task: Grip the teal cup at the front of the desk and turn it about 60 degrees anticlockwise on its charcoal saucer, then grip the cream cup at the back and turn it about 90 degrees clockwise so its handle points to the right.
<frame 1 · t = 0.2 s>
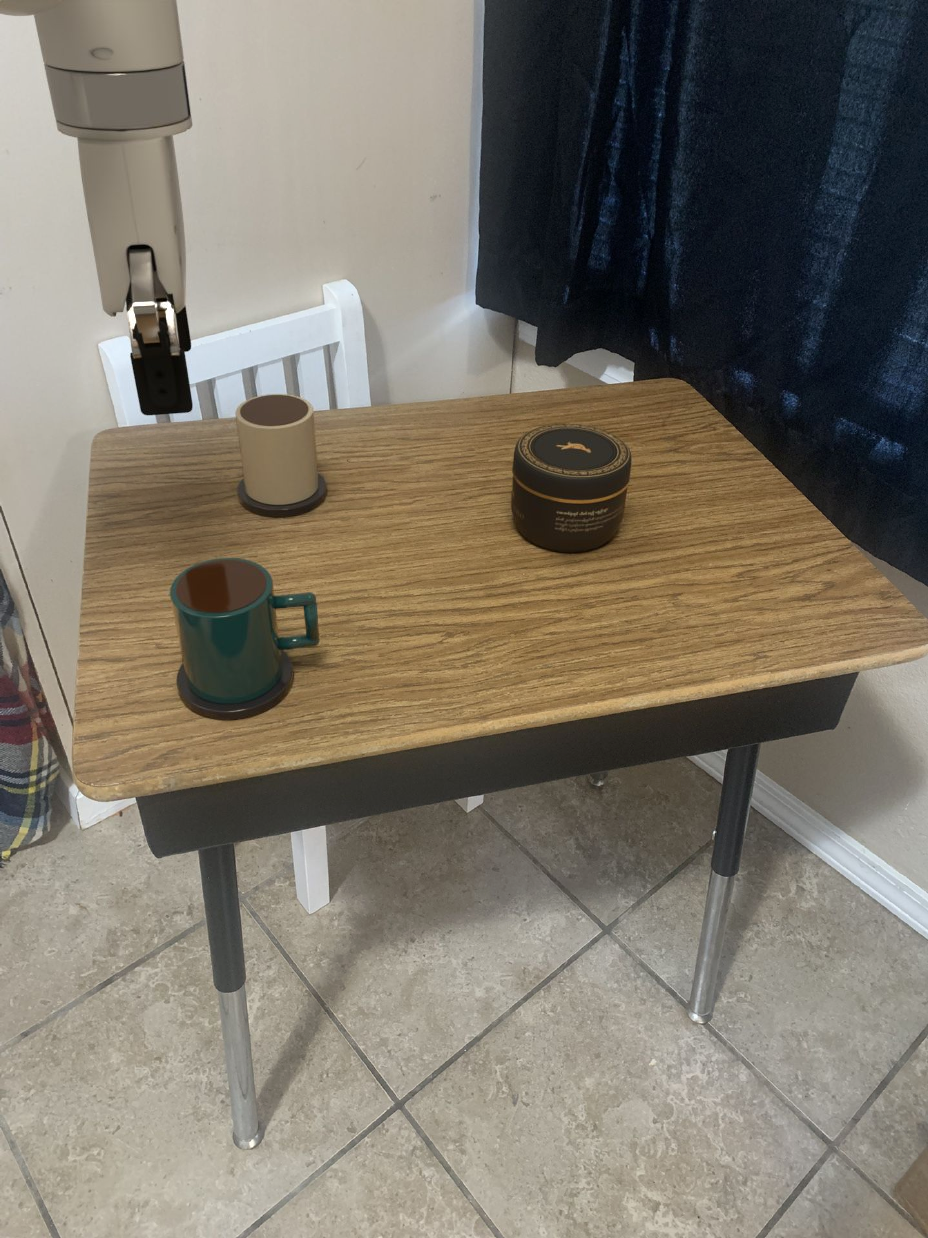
hand: (168, 379, 66), 18 cm above the table, tool pointing down, fingers open, 9 cm apart
cup front: (249, 627, 67), point 5 cm above the table, hinge at 0.0°
dark grey round coaster: (282, 493, 89), on the table
jar: (564, 527, 86), on the table
saucer front: (236, 680, 69), on the table
cup back: (277, 441, 87), point 5 cm above the table, hinge at 0.0°
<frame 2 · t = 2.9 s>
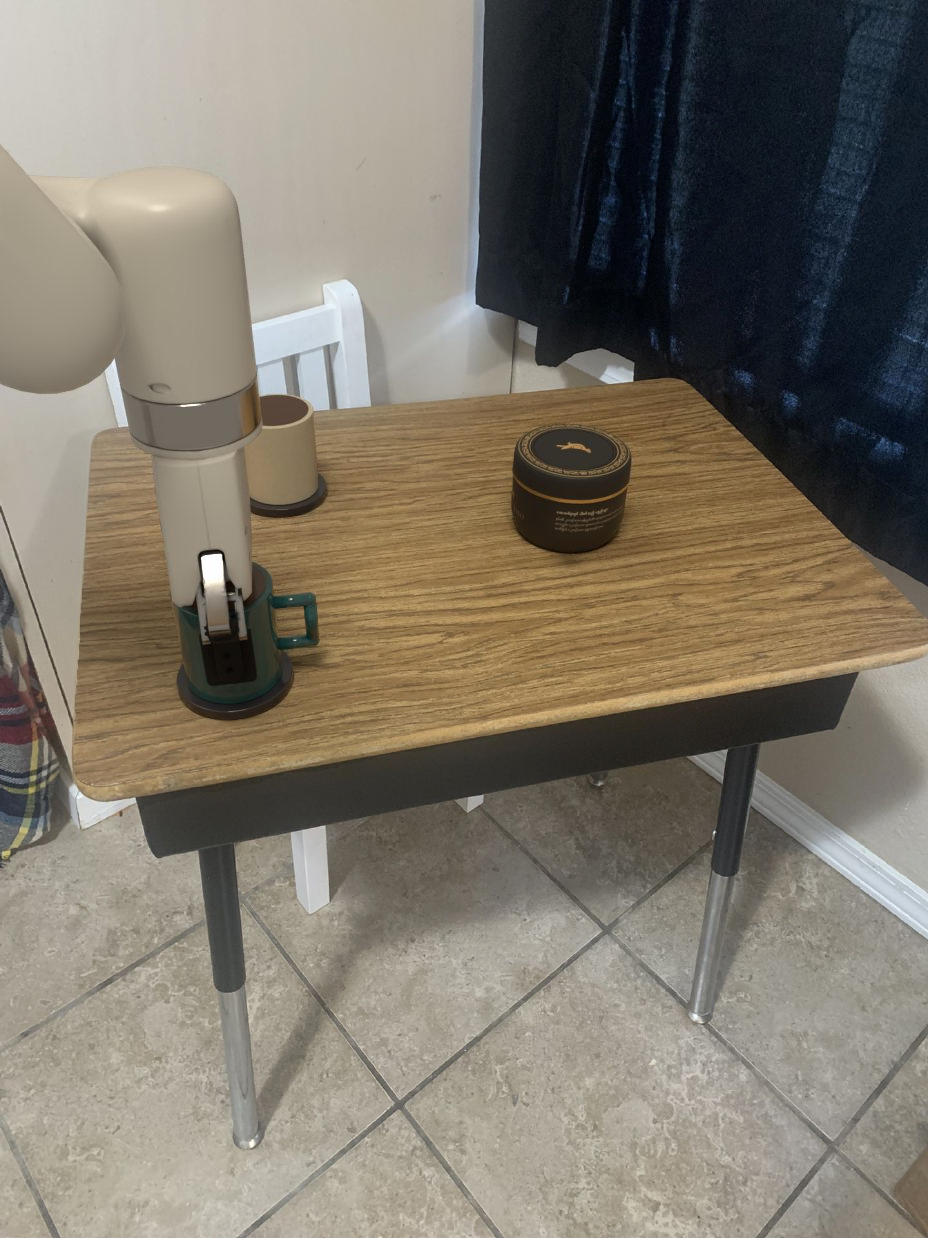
hand: (230, 643, 67), 3 cm above the table, tool pointing down, fingers closed on cup front, 6 cm apart
cup front: (249, 627, 67), point 5 cm above the table, hinge at 0.0°, touching gripper
everything else where it was.
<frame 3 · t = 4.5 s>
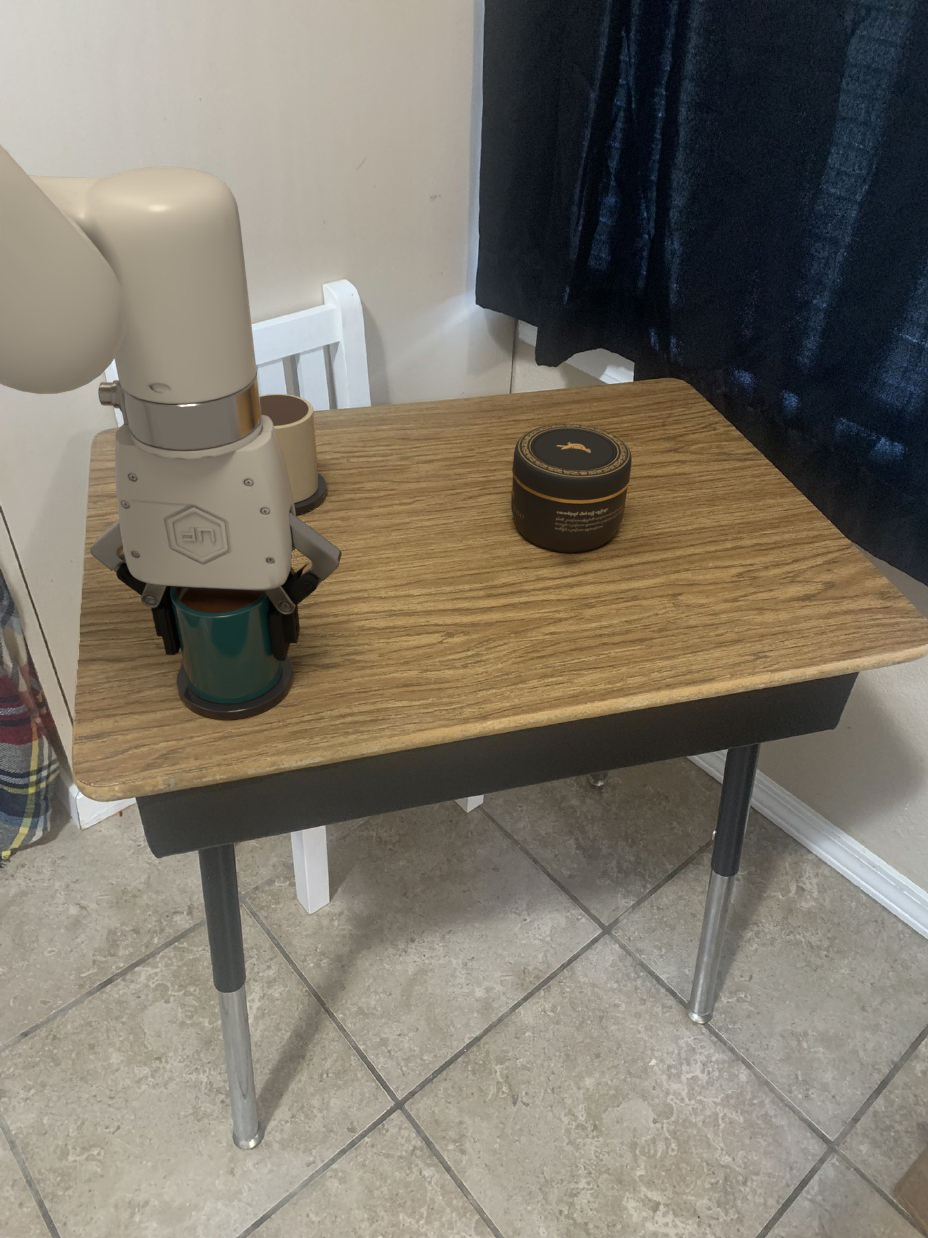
hand: (230, 643, 67), 3 cm above the table, tool pointing down, fingers closed on cup front, 6 cm apart
cup front: (233, 617, 67), point 5 cm above the table, hinge at 74.5°, touching gripper
everything else where it was.
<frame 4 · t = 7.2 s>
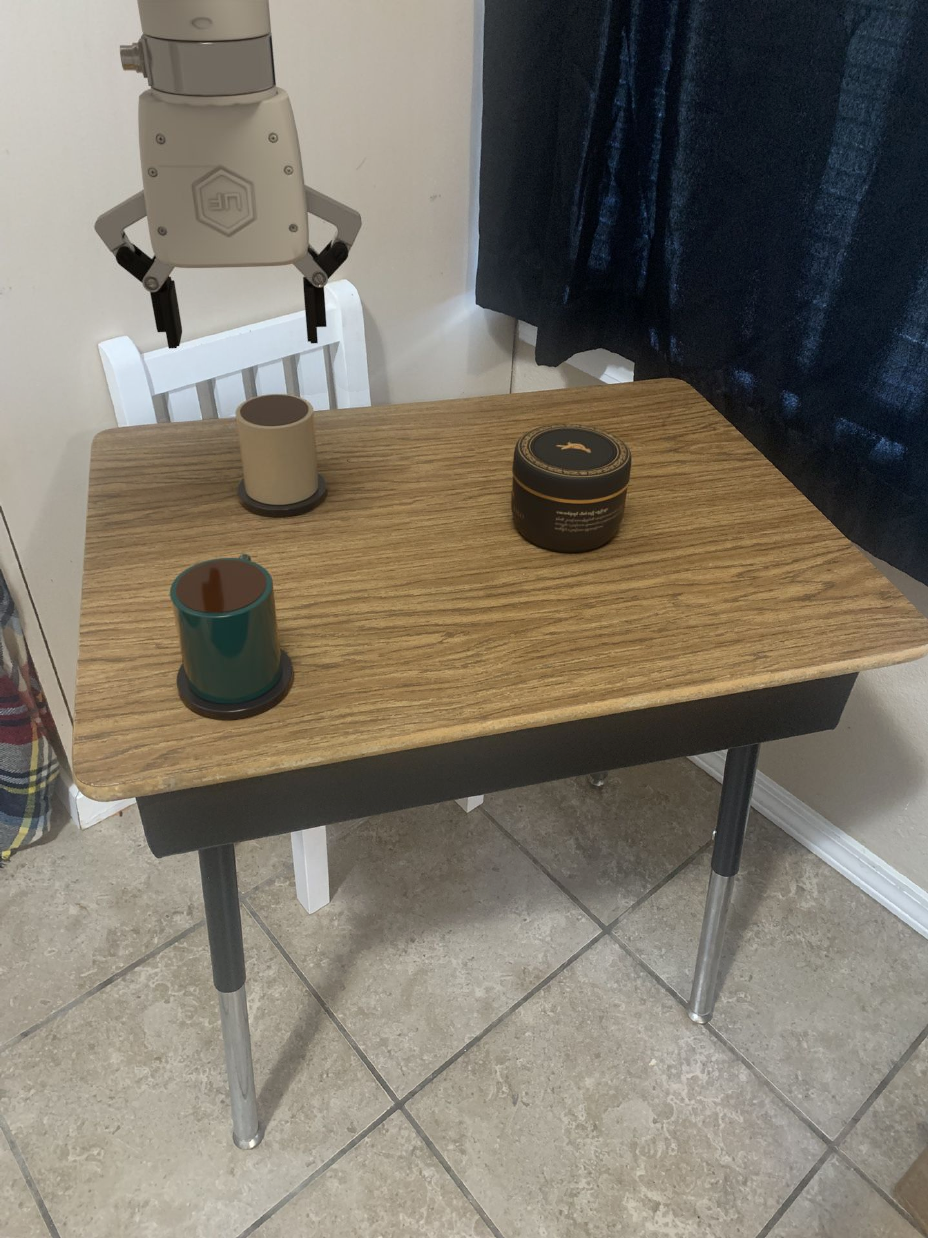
hand: (244, 338, 70), 19 cm above the table, tool pointing down, fingers open, 9 cm apart
cup front: (233, 617, 67), point 5 cm above the table, hinge at 74.5°
everything else where it was.
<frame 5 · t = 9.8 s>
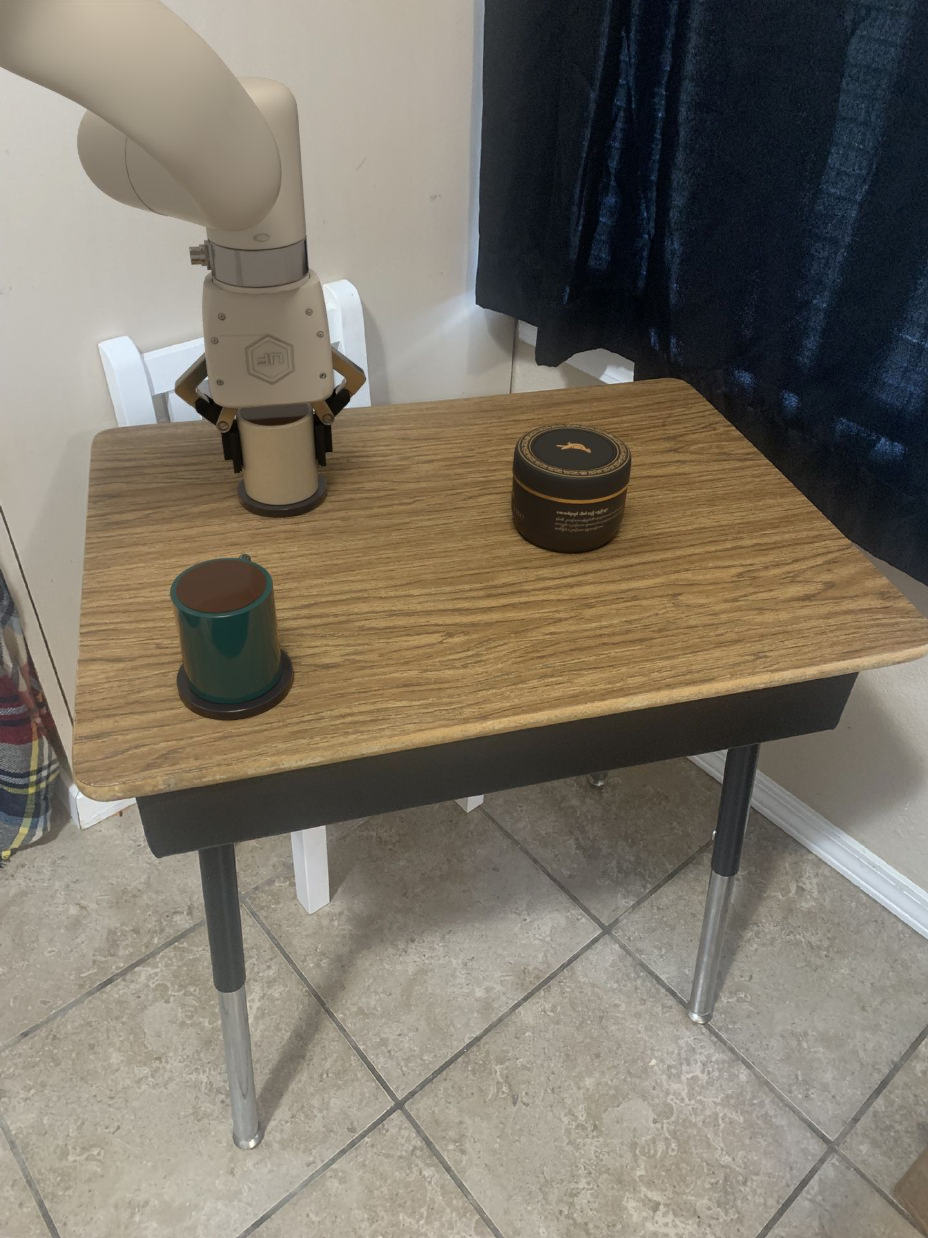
hand: (279, 460, 87), 3 cm above the table, tool pointing down, fingers closed on cup back, 6 cm apart
cup back: (277, 441, 87), point 5 cm above the table, hinge at -0.1°, touching gripper
everything else where it was.
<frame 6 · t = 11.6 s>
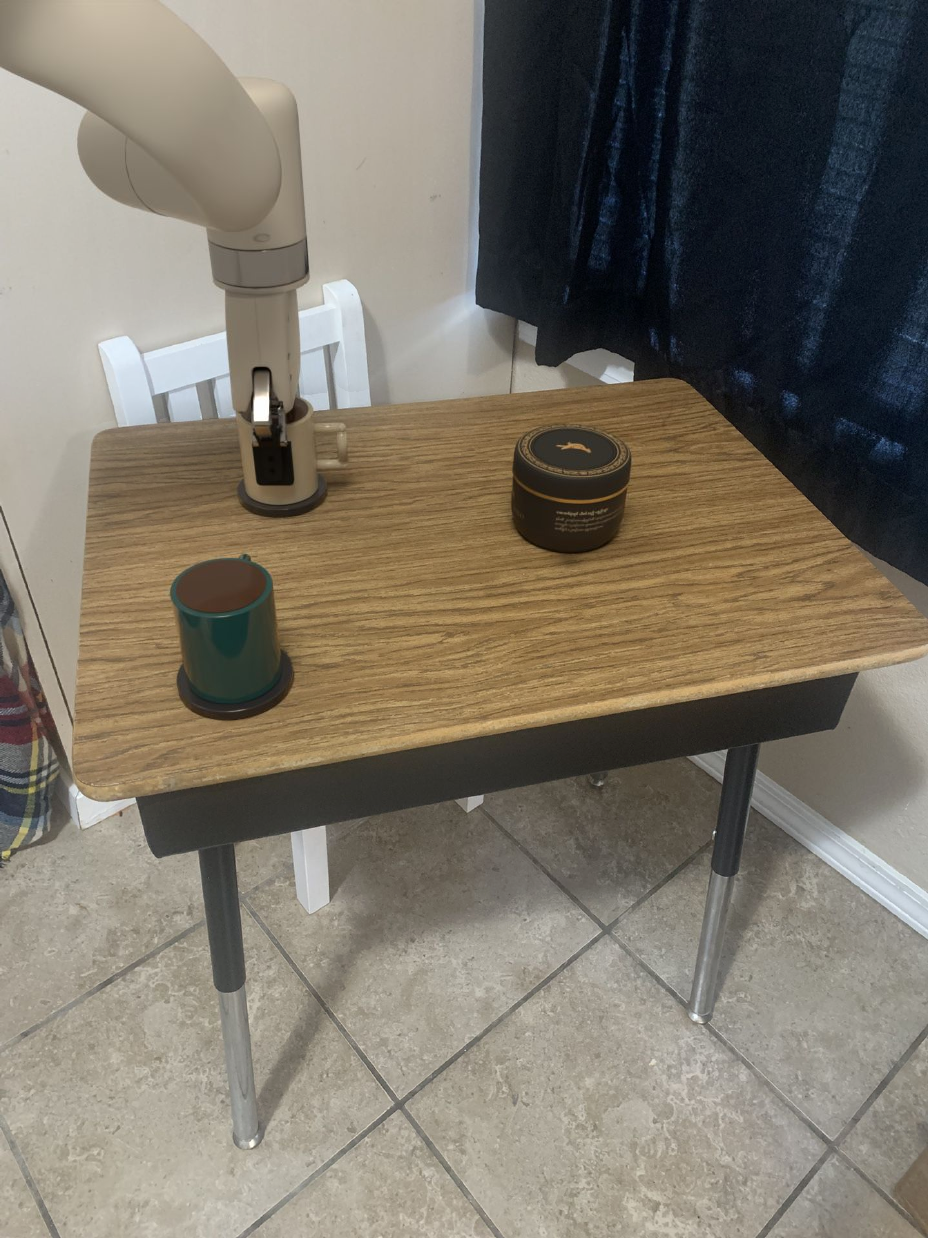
hand: (280, 460, 87), 3 cm above the table, tool pointing down, fingers closed on cup back, 6 cm apart
cup back: (294, 448, 86), point 5 cm above the table, hinge at -96.5°, touching gripper
everything else where it was.
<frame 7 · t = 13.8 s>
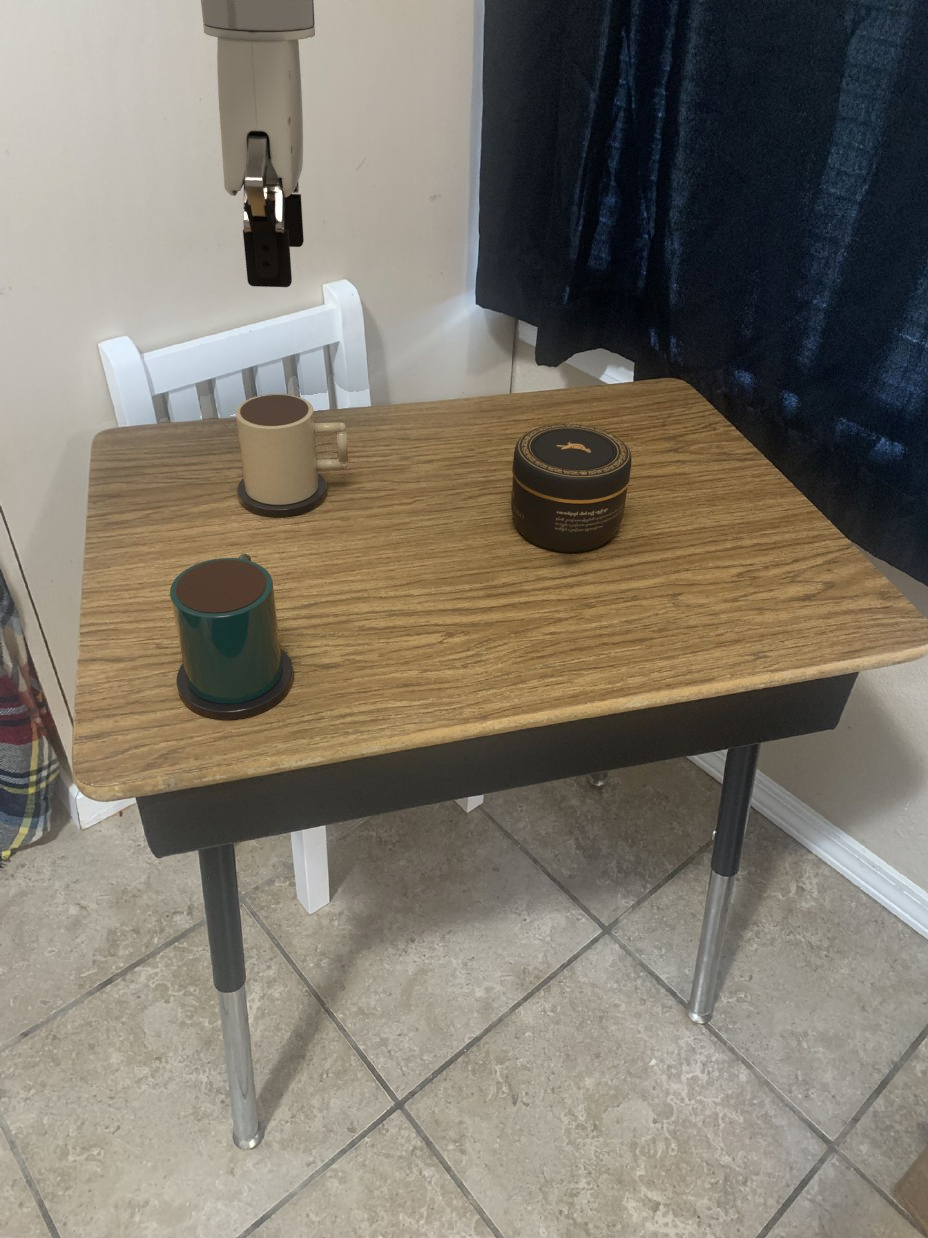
hand: (277, 264, 77), 21 cm above the table, tool pointing down, fingers open, 9 cm apart
cup back: (294, 448, 86), point 5 cm above the table, hinge at -96.0°
everything else where it was.
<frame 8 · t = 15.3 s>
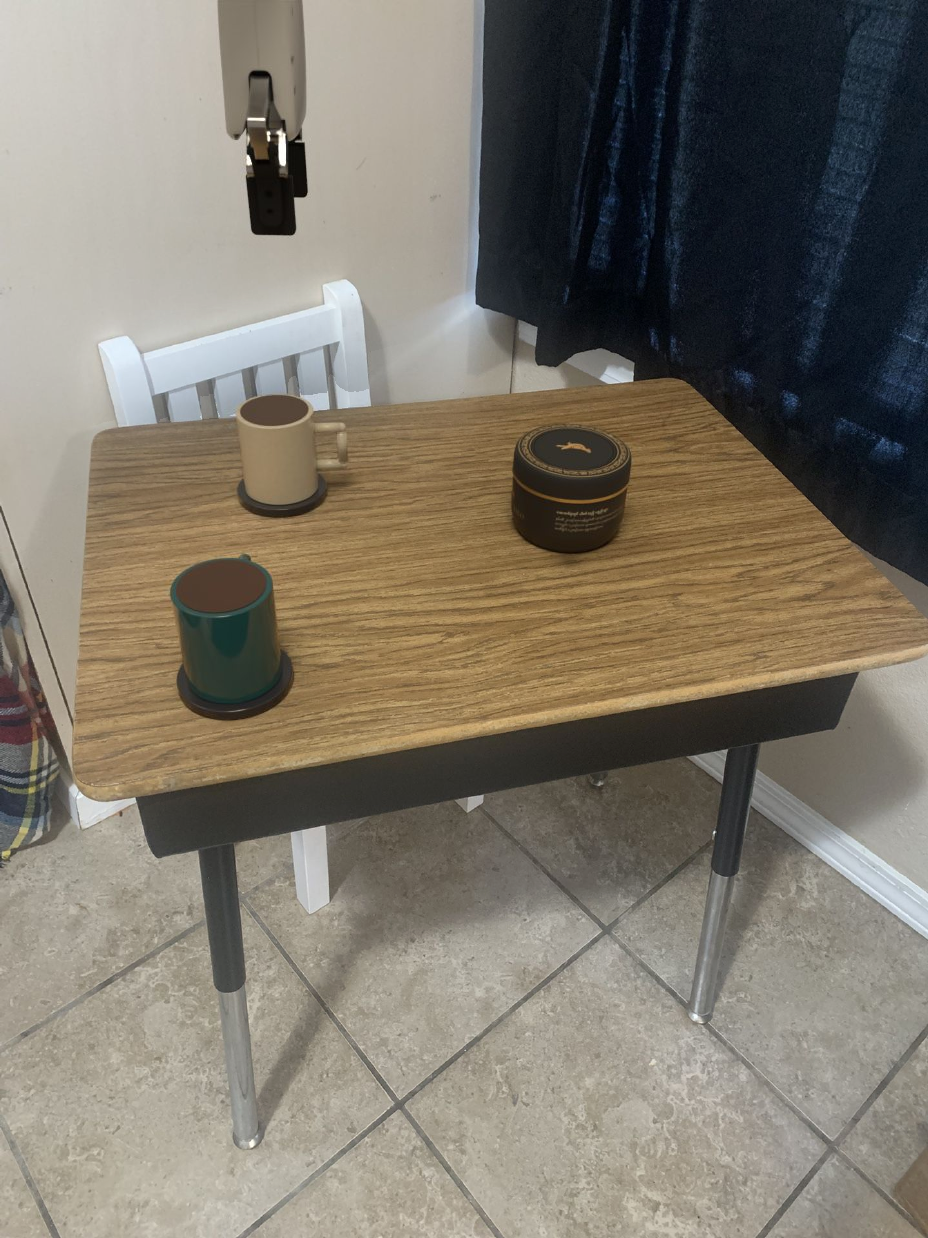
hand: (281, 214, 75), 24 cm above the table, tool pointing down, fingers open, 9 cm apart
nothing on the table moved.
at the end: cup front at +74° (first picture: +0°); cup back at -96° (first picture: +0°) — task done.
